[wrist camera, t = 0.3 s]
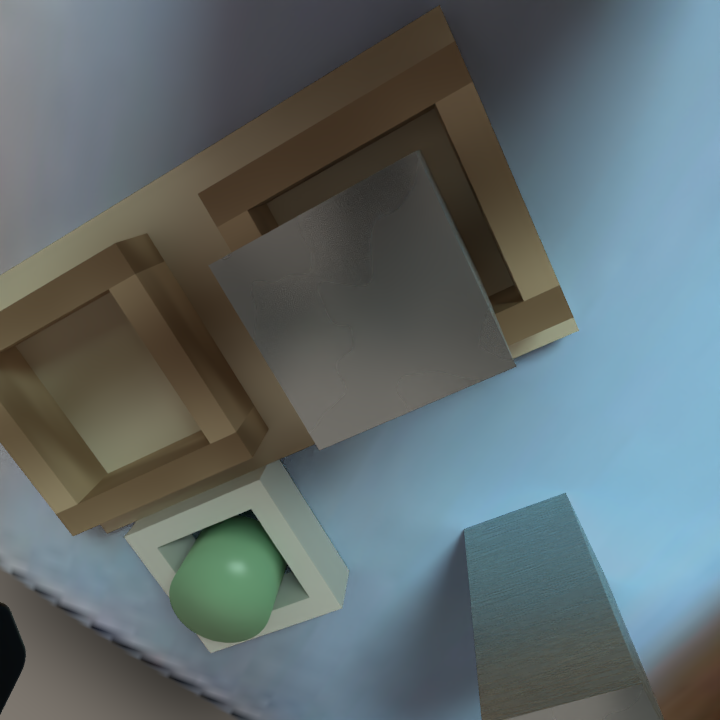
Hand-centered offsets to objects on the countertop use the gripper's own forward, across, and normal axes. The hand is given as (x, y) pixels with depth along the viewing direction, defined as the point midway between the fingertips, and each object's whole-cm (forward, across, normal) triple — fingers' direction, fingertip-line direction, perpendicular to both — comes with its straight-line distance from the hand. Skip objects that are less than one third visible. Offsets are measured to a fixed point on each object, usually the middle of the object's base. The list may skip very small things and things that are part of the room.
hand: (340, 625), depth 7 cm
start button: (+12, +7, +8) cm, 16 cm away
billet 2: (+13, -4, +9) cm, 17 cm away
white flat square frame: (+13, +7, +8) cm, 17 cm away
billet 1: (+12, 0, -3) cm, 13 cm away
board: (+13, +5, -1) cm, 14 cm away
